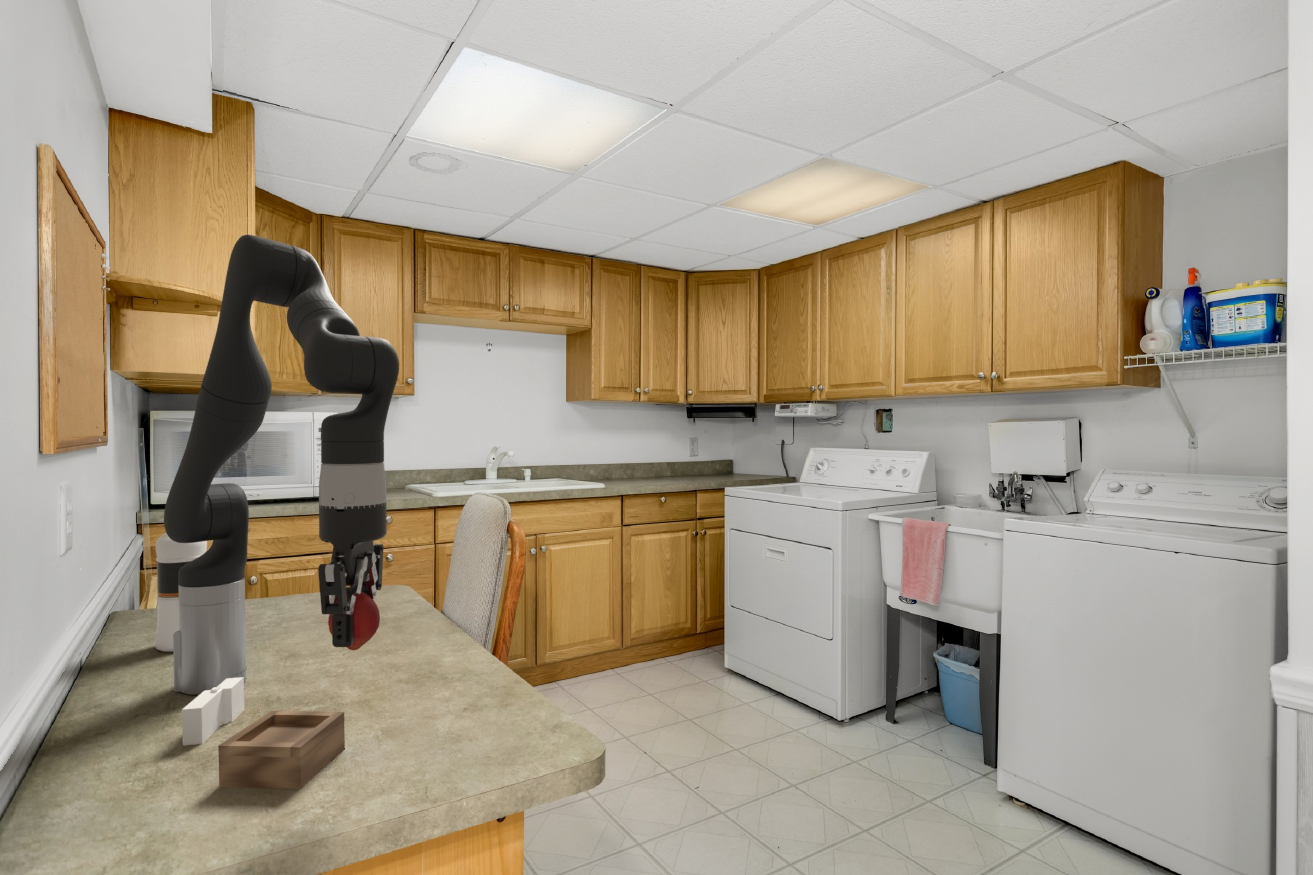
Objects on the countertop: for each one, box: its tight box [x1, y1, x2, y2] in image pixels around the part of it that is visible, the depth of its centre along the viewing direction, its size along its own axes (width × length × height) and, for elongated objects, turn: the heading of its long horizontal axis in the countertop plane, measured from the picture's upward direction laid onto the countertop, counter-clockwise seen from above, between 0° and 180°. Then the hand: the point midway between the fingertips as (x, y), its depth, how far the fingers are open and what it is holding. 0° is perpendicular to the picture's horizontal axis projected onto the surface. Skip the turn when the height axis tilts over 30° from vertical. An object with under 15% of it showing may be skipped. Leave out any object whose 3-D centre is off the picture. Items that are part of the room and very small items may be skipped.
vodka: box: [154, 532, 208, 653], centre depth 135 cm, size 9×9×30 cm
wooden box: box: [217, 710, 346, 790], centre depth 86 cm, size 10×10×5 cm
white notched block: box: [181, 677, 245, 746], centre depth 99 cm, size 15×11×6 cm
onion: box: [327, 586, 381, 651], centre depth 84 cm, size 6×6×8 cm
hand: (354, 636), depth 84 cm, fingers closed on onion, 6 cm apart
